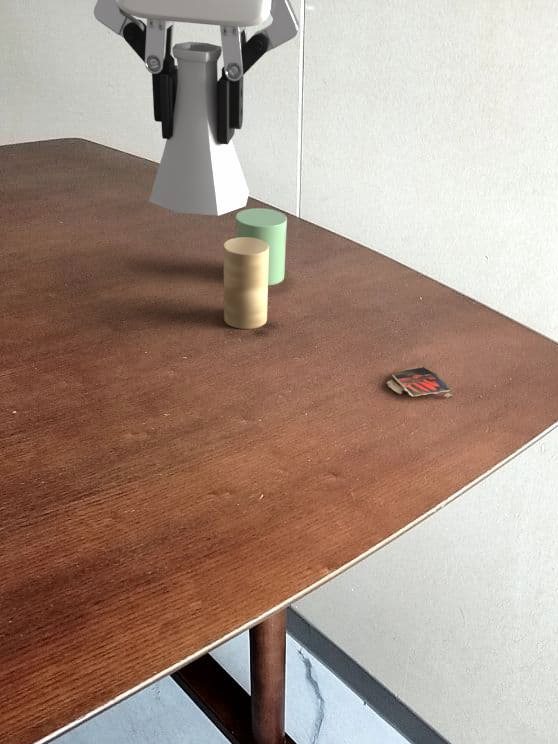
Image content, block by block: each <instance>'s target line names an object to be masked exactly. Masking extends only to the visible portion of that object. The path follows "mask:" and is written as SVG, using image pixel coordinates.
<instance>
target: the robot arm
mask: <svg viewBox="0 0 558 744" xmlns="http://www.w3.org/2000/svg"><path fill="white" fill-rule="evenodd" d="M93 15H94V18H95V19H96V20H97V21H98V22H99V23H101V24H102V25H103V26H105V27H106V28H108V30H111V31H112V32H114V33H115V34H116V35H118V36H120V37H122V38H123V39H124V40H125V42H126V43H127V44H128V45H129V47H130V48H131V49H132V51H133V52H135V53H136V54H137V56H138V57H139V58H140V60H142V62H143V63H144V67H145V69H146V70H147V71H148V72H149V74H151V84H152V85H151V86H152V103H153V104H152V105H153V106H152V107H153V119H154V121H155V122H159V123H161V137H162V139H163V140H167V139H170V137H173V116H174V109H175V101H176V93H177V86H178V64H177V65H176V64H175V63H176V62H175V60H176V58H174V56H173V47H174V35H175V34H174V33H175V22H176V23H187V24H188V23H189V24H198V25H209V26H219V30H220V39H221V40H220V41H221V47H222V58H223V59H222V60H223V67H222V68H221V77H220V78H218V82H217V141H218V142H220V144H225V145H228V144H229V142H230V140H231V139H233V137H234V135H235V132H236V130H241V129H242V128H243V121H244V75H245V74H246V73H247V72H248V71H250V69H251V68H252V67H253V66H255V64H256V63H257V62H258V61H259V60H260V59H261V58H262V57H263V56H264V55H265V54H266V53H268V52H269V51H271V50H274V49H276V48H277V47H279V46H281V45H283V44H285V43H288V41H290V40H292V39H294V38H295V37H296V36H297V35H298V33H299V31H300V27H301V26H300V23H299V20H298V17H297V15H296V12H295V10H294V8H293V6H292V3H291V1H290V0H97V1H96V3H95V6H94V9H93ZM269 16H271V23H270V24H268V25H267V26H265V27H264V28H262V29H260V30H257V31H256V32H254V34H253V35H252V36H251V37H250V38H249V39H248V35H247V34H248V33H247V28H248V27H254V26H255V27H256V26H258V25H260V24H262V23H263V22H266V20H267V19H268V17H269ZM138 18H140V19H138ZM141 19H146V24H145V22H144V21H142V20H141Z"/></svg>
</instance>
